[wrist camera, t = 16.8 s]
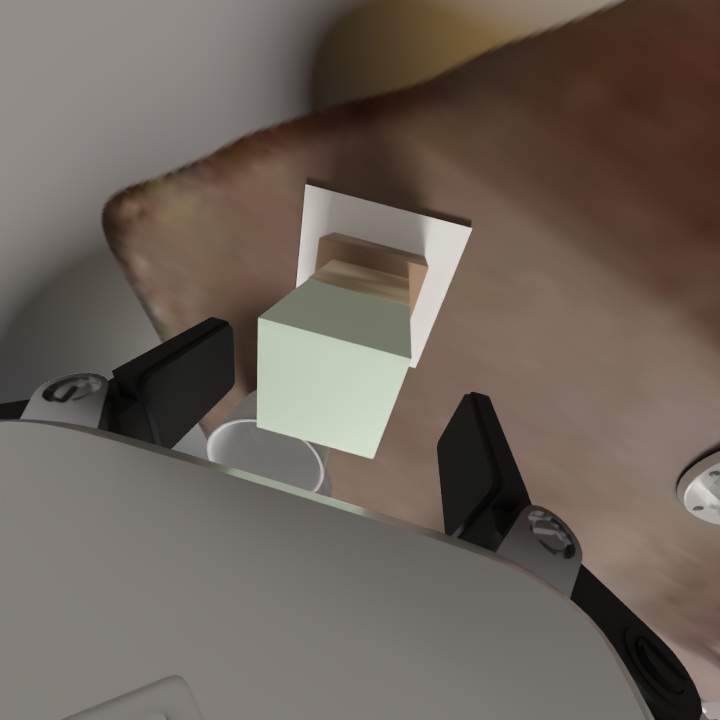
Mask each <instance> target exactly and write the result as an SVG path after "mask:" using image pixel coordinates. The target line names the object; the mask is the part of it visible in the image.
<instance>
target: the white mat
mask: <svg viewBox="0 0 720 720" xmlns="http://www.w3.org/2000/svg"><path fill="white" fill-rule="evenodd" d="M471 230H472V228H470V227H466V226H462V225H458V224H454V223H451V222H447V221H443V220H439V219H435V218H432V217H428V216H424V215H420V214H417V213H413V212H409V211H405V210H401V209H398V208H394V207H390V206H386V205H383V204H379V203H375V202H371V201H367V200H364V199H360V198H356V197H352V196H349V195H345V194H341V193H337V192H333V191H330V190H326V189H322V188H318V187H315V186H311V185H307V184H306V186H305V196H304V207H303V218H302V229H301V240H300V250H299V261H298V272H297V283H296V288H297V287H299V286H300V285H301V284H302V283H304V282H305V281H306V280H308V277H310V276H311V275H312V274H314V273H315V266H316V259H317V251H318V243H319V238H320V237H323V236H325V235H328V234H331V233H333V232H336V233H340V234H343V235H347V236H351V237H355V238H358V239H362V240H366V241H370V242H373V243H377V244H381V245H385V246H388V247H392V248H396V249H400V250H403V251H407V252H411V253H415V254H418V255H422V256H425V258H426V261H427V264H428V266H429V268H428V271H427V274H426V277H425V280H424V282H423V285H422V288H421V291H420V294H419V297H418V299H417V302H416V305H415V308H414V311H413V314H412V316H411V319H410V326H411V355H412V359H411V362H410V365H409V366H410V367H413V368H416V366H417V363H418V361H419V358H420V356H421V353H422V351H423V348H424V346H425V343H426V341H427V339H428V336H429V334H430V331H431V329H432V326H433V324H434V321H435V319H436V316H437V314H438V312H439V309H440V307H441V304H442V302H443V299H444V297H445V294H446V292H447V289H448V287H449V284H450V282H451V280H452V277H453V275H454V272H455V270H456V267H457V265H458V262H459V260H460V257H461V255H462V253H463V250H464V248H465V245H466V243H467V240H468V238H469V235H470V233H471Z"/></svg>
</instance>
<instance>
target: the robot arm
mask: <svg viewBox="0 0 720 720" xmlns="http://www.w3.org/2000/svg"><path fill="white" fill-rule="evenodd" d="M112 372H113V375H114V378H112V379H111V380H109V381H108V380H107V379H106V378H105V377H104V376H102V375H99V374H94V373H78V374H72V375H66V376H63V377H59V378H56V379H54V380H51V381H49V382H47V383H45V384H44V385H42V386H41V387H39V388H38V389H37V390H36V391H35V393H34V394H33V396H32V398H31V399H29V400H23V401H16V402H10V403H4V404H0V720H709V719H708V718H707V717H706V716H705V714H704V713H703V712H702V705H701V699H700V697H699V694H698V692H697V689H696V687H695V684H694V682H693V681H692V679H691V677H690V676H689V674H688V672H687V670H686V669H685V667H684V666H683V664H682V663H681V662H680V660H679V659H678V658H677V657H676V655H675V654H674V653H673V651H672V650H671V649H670V648H669V647H668V646H667V645H666V644H665V643H664V642H663V641H662V640H661V639H660V638H659V637H658V636H657V635H656V634H655V633H654V632H653V631H652V630H651V629H650V628H649V627H648V626H647V625H646V624H645V623H644V622H643V621H641V620H640V619H639V618H638V617H637V616H636V615H635V614H634V613H633V612H632V611H631V610H630V609H629V608H628V607H627V606H626V605H625V604H624V603H622V602H621V601H620V600H619V599H618V598H617V597H616V596H615V595H614V594H613V593H612V592H611V591H610V590H609V589H608V588H607V587H606V586H605V585H604V584H602V583H601V582H600V581H599V580H598V579H597V578H596V577H595V576H594V575H593V574H592V573H591V572H590V571H589V570H588V569H587V568H586V567H585V566H583V565H582V564H581V562H582V549H581V546H580V543H579V541H578V540H577V538H576V536H575V534H574V533H573V532H572V531H571V529H570V528H569V527H568V525H567V524H566V523H564V522H563V521H562V520H561V519H560V518H559V517H558V516H557V515H555V514H554V513H552V512H551V511H549V510H547V509H545V508H543V507H541V506H536V505H532V504H531V501H530V499H529V496H528V492H527V490H526V487H525V485H524V482H523V480H522V477H521V475H520V472H519V470H518V467H517V465H516V462H515V460H514V457H513V455H512V452H511V450H510V447H509V445H508V443H507V440H506V438H505V435H504V433H503V430H502V428H501V425H500V423H499V420H498V418H497V415H496V413H495V410H494V408H493V405H492V403H491V400H490V398H489V396H486V395H483V394H479V393H476V392H471V393H470V394H465V395H464V397H463V399H462V400H461V402H460V404H459V406H458V407H457V409H456V411H455V413H454V415H453V416H452V418H451V420H450V422H449V423H448V425H447V427H446V429H445V430H444V432H443V434H442V436H441V438H440V439H439V441H438V445H437V454H438V464H439V474H440V484H441V494H442V505H443V515H444V525H445V533H446V534H443V533H440V532H437V531H434V530H431V529H428V528H425V527H422V526H419V525H416V524H413V523H410V522H407V521H403V520H400V519H397V518H394V517H391V516H387V515H384V514H381V513H378V512H375V511H371V510H368V509H365V508H362V507H359V506H355V505H352V504H349V503H346V502H343V501H339V500H336V499H333V498H330V497H326V496H323V495H320V494H317V493H313V492H310V491H307V490H304V489H300V488H297V487H294V486H291V485H287V484H284V483H281V482H278V481H274V480H271V479H268V478H265V477H261V476H258V475H255V474H251V473H248V472H245V471H242V470H238V469H235V468H232V467H228V466H225V465H222V464H218V463H215V462H212V461H208V460H205V459H202V458H198V457H195V456H192V455H189V454H185V453H181V452H179V451H175V450H172V449H171V448H172V447H174V446H175V445H176V444H177V443H178V442H179V441H180V440H181V439H182V438H183V436H185V434H186V433H188V432H189V431H190V430H191V428H193V427H194V426H195V425H196V424H197V423H198V422H199V421H200V420H201V419H202V418H203V417H204V416H205V415H206V414H207V413H208V412H209V411H210V410H211V409H212V408H213V407H214V406H215V405H216V404H217V403H218V402H219V401H220V400H221V399H222V398H223V397H224V396H225V395H226V394H227V393H228V392H229V391H230V390H231V389H232V387H233V385H234V383H235V370H234V344H233V328H232V327H231V326H230V325H229V323H228V322H227V321H225V320H221V319H218V318H214V317H211V318H209V319H207V320H205V321H203V322H201V323H199V324H197V325H196V326H194V327H192V328H190V329H188V330H186V331H185V332H183V333H181V334H179V335H177V336H175V337H174V338H172V339H170V340H168V341H166V342H164V343H162V344H161V345H159V346H157V347H155V348H153V349H151V350H150V351H148V352H146V353H144V354H142V355H140V356H138V357H137V358H135V359H133V360H131V361H129V362H127V363H126V364H124V365H122V366H120V367H118V368H116V369H115V370H113V371H112ZM677 496H678V498H679V500H680V502H681V503H682V504H683V505H684V506H685V507H686V509H687V510H688V511H689V512H691V513H692V514H693V515H694V516H696V517H698V518H700V519H702V520H705V521H708V522H712V523H715V524H720V451H718V452H716V453H714V454H712V455H710V456H708V457H706V458H704V459H703V460H701V461H700V462H698V463H697V464H695V465H694V466H693V467H692V468H690V469H689V470H688V471H687V472H686V473H685V474H684V476H683V477H682V478H681V480H680V482H679V485H678V487H677ZM714 720H717V719H714Z"/></svg>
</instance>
